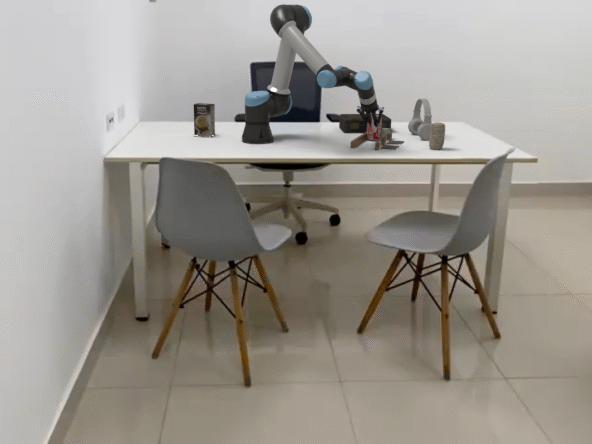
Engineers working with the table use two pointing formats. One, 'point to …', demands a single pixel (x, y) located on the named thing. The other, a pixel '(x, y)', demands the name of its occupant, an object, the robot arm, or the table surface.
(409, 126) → the headphones
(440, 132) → the carved cylinder
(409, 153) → the table surface
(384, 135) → the brown and grey pieces
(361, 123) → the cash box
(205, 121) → the coffee box
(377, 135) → the soda can
